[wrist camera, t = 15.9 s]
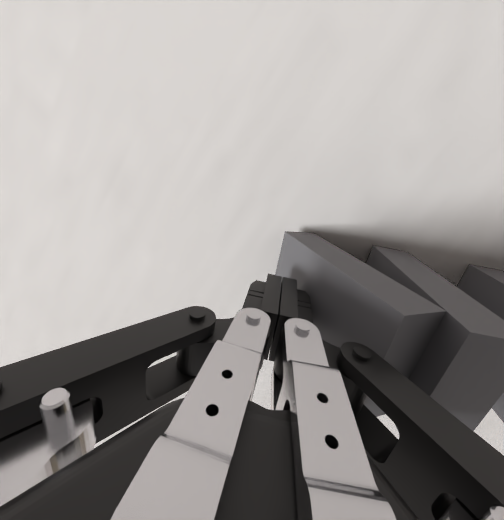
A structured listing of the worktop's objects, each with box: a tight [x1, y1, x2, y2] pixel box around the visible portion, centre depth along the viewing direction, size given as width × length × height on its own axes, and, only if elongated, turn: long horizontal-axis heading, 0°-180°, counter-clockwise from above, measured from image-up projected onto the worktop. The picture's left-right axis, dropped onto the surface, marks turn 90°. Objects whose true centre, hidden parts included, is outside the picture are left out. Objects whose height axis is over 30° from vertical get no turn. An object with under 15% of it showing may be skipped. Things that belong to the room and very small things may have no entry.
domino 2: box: [366, 246, 504, 432], centre depth 12 cm, size 5×2×8 cm, turn 171°
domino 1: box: [275, 232, 446, 417], centre depth 12 cm, size 5×2×8 cm
